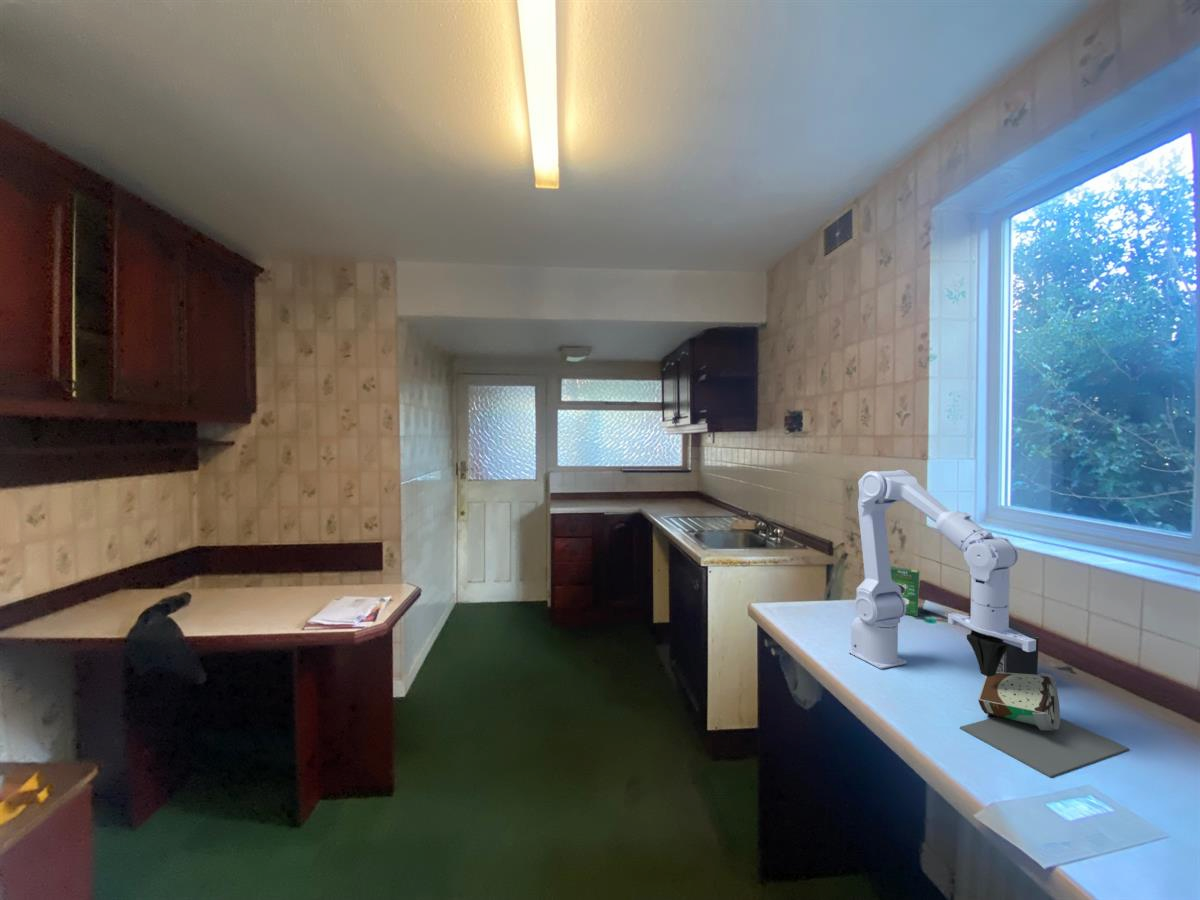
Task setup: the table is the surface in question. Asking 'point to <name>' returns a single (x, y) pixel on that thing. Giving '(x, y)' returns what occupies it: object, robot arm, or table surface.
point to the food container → (1022, 698)
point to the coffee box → (907, 587)
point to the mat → (1045, 744)
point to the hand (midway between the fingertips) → (988, 674)
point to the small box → (1019, 656)
